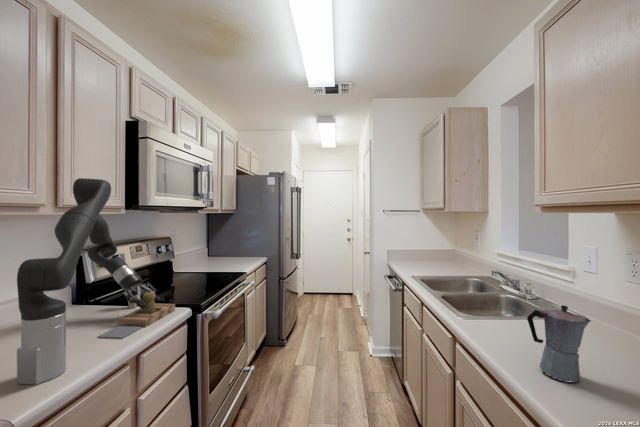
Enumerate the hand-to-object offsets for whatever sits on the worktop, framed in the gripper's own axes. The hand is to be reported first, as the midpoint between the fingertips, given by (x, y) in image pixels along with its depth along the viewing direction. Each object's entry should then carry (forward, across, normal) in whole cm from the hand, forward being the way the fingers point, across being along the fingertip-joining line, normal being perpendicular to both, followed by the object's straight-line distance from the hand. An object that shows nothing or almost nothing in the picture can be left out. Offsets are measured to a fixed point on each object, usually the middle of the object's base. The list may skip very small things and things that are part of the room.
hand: (151, 304), depth 127 cm
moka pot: (+107, -32, -99) cm, 149 cm away
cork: (+3, 0, +5) cm, 6 cm away
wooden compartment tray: (+3, 0, +5) cm, 6 cm away
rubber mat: (+3, -16, +5) cm, 17 cm away
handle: (-9, +12, +17) cm, 23 cm away
